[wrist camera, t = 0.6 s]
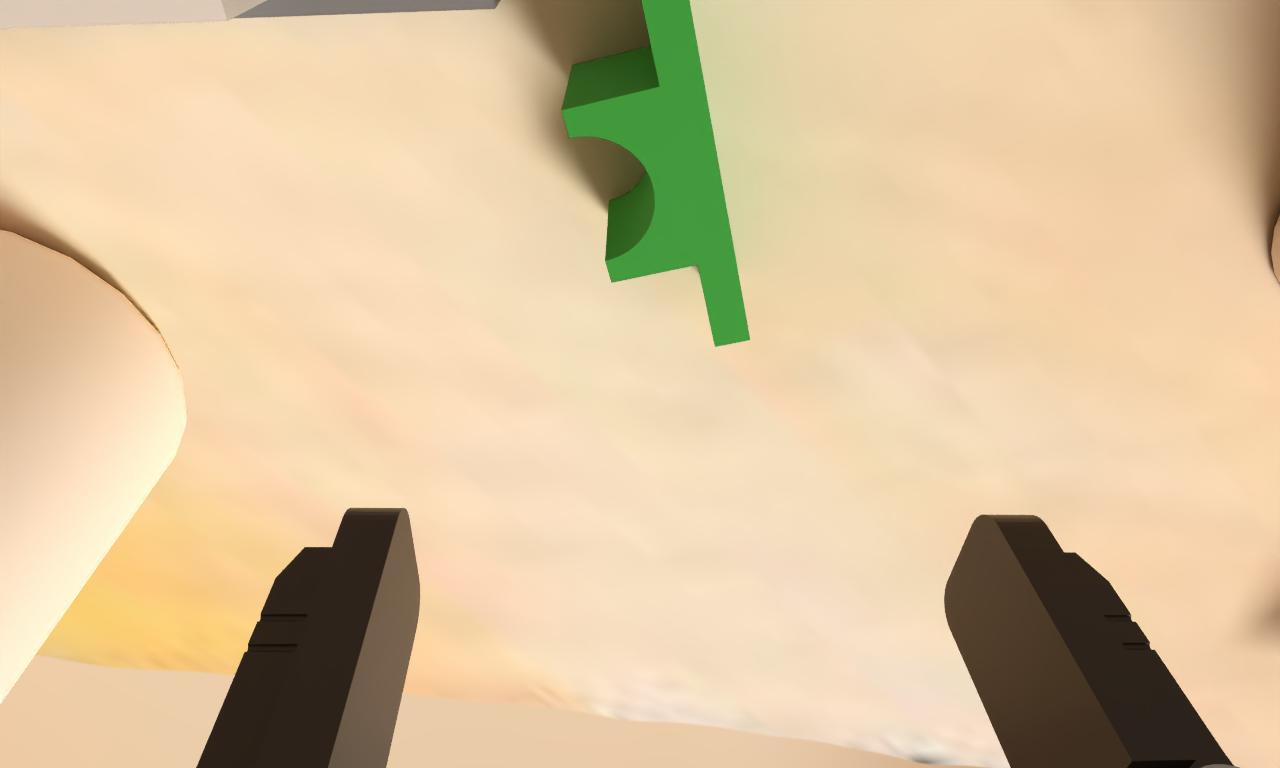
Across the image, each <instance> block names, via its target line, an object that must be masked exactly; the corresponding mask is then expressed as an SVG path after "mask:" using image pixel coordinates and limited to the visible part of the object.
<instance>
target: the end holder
mask: <svg viewBox="0 0 1280 768" xmlns="http://www.w3.org/2000/svg"><path fill="white" fill-rule="evenodd" d="M500 1H501V0H0V29H22V28H49V27H77V26H104V25H132V24H159V23H187V22H214V21H229V20H230V19H232V18H254V17H282V16H309V15H337V14H364V13H391V12H419V11H446V10H474V9H495V8H496V6H497V5H498V3H499V2H500Z"/></svg>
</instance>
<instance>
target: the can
mask: <svg viewBox="0 0 1280 768" xmlns="http://www.w3.org/2000/svg"><path fill="white" fill-rule="evenodd" d="M186 413H187V412H186V404H185V397H184V389H183V381H182V375H181V373H180V371H179V369H178V367H177V365H176V363H175V362H174V360H173V358H172V356H171V354H170V352H169V350H168V348H167V346H166V344H165V342H164V341H163V339H162V337H161V335H160V334H159V333H158V331H157V330H156V329H155V328H154V327H153V326H152V325H151V324H150V323H149V322H148V321H147V320H146V318H145V317H144V316H143V315H142V314H141V313H140V312H139V311H138V310H137V309H136V308H135V307H134V306H133V304H132V303H131V302H130V301H129V300H128V299H127V298H126V297H125V296H124V295H123V294H122V293H121V292H119V291H118V290H117V289H115V288H114V287H112V286H111V285H109V284H108V283H107V282H105V281H104V280H102V279H101V278H99V277H98V276H96V275H95V274H94V273H92V272H91V271H89V270H88V269H86V268H85V267H84V266H82V265H81V264H79V263H78V262H76V261H75V260H74V259H72V258H70V257H68V256H66V255H63V254H61V253H59V252H57V251H54V250H52V249H50V248H47V247H45V246H43V245H40V244H38V243H36V242H33V241H31V240H29V239H27V238H24V237H22V236H20V235H17V234H15V233H13V232H9V231H4V230H0V704H1V702H2V701H3V699H4V698H5V697H6V695H7V694H8V692H9V691H10V690H11V688H12V687H13V685H14V684H15V683H16V681H17V680H18V678H19V677H20V675H21V674H22V673H23V671H24V670H25V668H26V667H27V666H28V664H29V663H30V661H31V660H32V658H33V657H34V656H35V654H36V653H37V651H38V650H39V649H40V647H41V646H42V644H43V643H44V641H45V640H46V639H47V637H48V636H49V634H50V633H51V632H52V630H53V629H54V627H55V626H56V624H57V623H58V622H59V620H60V619H61V617H62V616H63V615H64V613H65V612H66V610H67V609H68V607H69V606H70V605H71V603H72V602H73V600H74V599H75V597H76V596H77V595H78V593H79V592H80V590H81V589H82V588H83V586H84V585H85V583H86V582H87V580H88V579H89V578H90V576H91V575H92V573H93V572H94V571H95V569H96V568H97V566H98V565H99V563H100V562H101V561H102V559H103V558H104V556H105V555H106V554H107V552H108V551H109V549H110V548H111V546H112V545H113V544H114V542H115V541H116V539H117V538H118V537H119V535H120V534H121V532H122V531H123V529H124V528H125V527H126V525H127V524H128V522H129V521H130V520H131V518H132V517H133V515H134V514H135V512H136V511H137V510H138V508H139V507H140V505H141V504H142V503H143V501H144V500H145V498H146V497H147V495H148V494H149V493H150V491H151V490H152V488H153V487H154V485H155V484H156V483H157V481H158V480H159V478H160V477H161V476H162V474H163V473H164V471H165V470H166V468H167V467H168V466H169V464H170V463H171V461H172V460H173V459H174V457H175V455H176V452H177V449H178V447H179V444H180V441H181V438H182V435H183V432H184V429H185V427H186Z"/></svg>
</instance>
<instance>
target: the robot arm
mask: <svg viewBox="0 0 1280 768" xmlns="http://www.w3.org/2000/svg"><path fill="white" fill-rule="evenodd" d="M1271 255H1272V261H1273V267H1274V274H1275V275H1276V277H1277V279H1278V281H1279V283H1280V215H1279V218H1278V220H1277V223H1276V226H1275V228H1274V235H1273V243H1272V250H1271ZM944 603H945V613H946V618H947V622H948V625H949V628H950V630H951V632H952V635H953V637H954V639H955V641H956V644H957V646H958V648H959V651H960V653H961V655H962V657H963V660H964V662H965V664H966V667H967V669H968V671H969V673H970V676H971V678H972V680H973V683H974V685H975V687H976V689H977V692H978V694H979V696H980V699H981V701H982V703H983V705H984V708H985V710H986V712H987V714H988V717H989V719H990V721H991V724H992V726H993V728H994V730H995V733H996V735H997V737H998V740H999V742H1000V744H1001V746H1002V749H1003V751H1004V753H1005V756H1006V758H1007V760H1008V762H1009V765H1010V767H1011V768H1239V767H1236V766H1234V765H1233V764H1232V763H1231V761H1230V760H1229V759H1228V757H1227V756H1226V755H1225V753H1224V752H1223V750H1222V749H1221V747H1220V746H1219V744H1218V743H1217V741H1216V740H1215V739H1214V737H1213V736H1212V734H1211V733H1210V731H1209V730H1208V728H1207V727H1206V725H1205V724H1204V722H1203V721H1202V719H1201V718H1200V716H1199V715H1198V713H1197V712H1196V710H1195V709H1194V707H1193V706H1192V704H1191V703H1190V701H1189V700H1188V698H1187V697H1186V695H1185V694H1184V692H1183V691H1182V690H1181V688H1180V687H1179V685H1178V684H1177V682H1176V681H1175V679H1174V678H1173V676H1172V675H1171V673H1170V672H1169V670H1168V669H1167V667H1166V666H1165V664H1164V663H1163V661H1162V660H1161V658H1160V657H1159V655H1158V654H1157V652H1156V651H1155V650H1151V649H1150V646H1149V644H1150V642H1149V641H1148V639H1147V638H1146V636H1145V635H1144V633H1143V632H1142V630H1141V629H1140V627H1139V626H1138V624H1137V623H1136V622H1132V620H1131V614H1130V612H1129V611H1128V609H1127V608H1126V606H1125V605H1124V603H1123V602H1122V600H1121V599H1120V597H1119V596H1118V594H1117V593H1116V592H1115V590H1114V589H1113V587H1112V586H1111V584H1110V583H1109V581H1108V580H1106V579H1105V578H1104V577H1103V576H1102V575H1101V574H1099V573H1098V572H1097V571H1096V570H1095V569H1094V568H1092V567H1091V566H1090V565H1089V564H1088V563H1087V562H1086V561H1084V560H1083V559H1082V558H1081V557H1080V556H1079V555H1077V554H1076V553H1064V552H1063V550H1062V549H1061V547H1060V545H1059V544H1058V542H1057V541H1056V539H1055V538H1054V536H1053V534H1052V533H1051V531H1050V530H1049V528H1048V527H1047V525H1046V524H1045V523H1044V521H1043V520H1041V519H1040V518H1039V517H1037V516H1034V515H980V516H979V517H977V518H976V519H975V521H974V522H973V524H972V526H971V528H970V531H969V533H968V535H967V538H966V540H965V542H964V545H963V547H962V549H961V551H960V554H959V556H958V558H957V561H956V563H955V565H954V567H953V570H952V572H951V574H950V577H949V579H948V581H947V584H946V588H945V596H944ZM419 606H420V583H419V575H418V569H417V563H416V557H415V550H414V544H413V538H412V532H411V526H410V519H409V515H408V512H407V510H406V509H405V508H349V509H348V510H347V511H346V512H345V514H344V516H343V519H342V521H341V524H340V527H339V530H338V532H337V535H336V538H335V541H334V544H333V546H332V547H305V548H304V549H303V550H302V551H301V552H300V553H299V554H298V555H297V556H296V557H295V558H294V559H293V560H292V561H291V563H290V564H289V565H288V566H287V567H286V568H285V569H284V570H283V571H282V572H281V573H280V574H279V575H278V576H277V577H276V579H275V581H274V583H273V586H272V588H271V591H270V593H269V595H268V598H267V600H266V603H265V605H264V607H263V610H262V612H261V619H260V622H257V624H256V626H255V629H254V631H253V634H252V636H251V638H250V641H249V643H248V651H247V652H245V653H244V655H243V657H242V660H241V662H240V665H239V667H238V669H237V672H236V674H235V677H234V679H233V682H232V684H231V686H230V689H229V691H228V693H227V696H226V698H225V700H224V703H223V706H222V708H221V710H220V713H219V715H218V717H217V720H216V722H215V724H214V727H213V730H212V732H211V734H210V736H209V739H208V741H207V743H206V746H205V748H204V751H203V753H202V755H201V758H200V760H199V763H198V765H197V767H196V768H386V765H387V761H388V756H389V751H390V747H391V742H392V738H393V733H394V728H395V724H396V720H397V715H398V711H399V706H400V701H401V697H402V692H403V688H404V683H405V679H406V674H407V669H408V665H409V660H410V656H411V651H412V647H413V642H414V637H415V633H416V628H417V623H418V616H419Z"/></svg>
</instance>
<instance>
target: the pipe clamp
mask: <svg viewBox="0 0 1280 768" xmlns="http://www.w3.org/2000/svg"><path fill="white" fill-rule="evenodd" d="M641 1H642V6H643V10H644V15H645V20H646V25H647V29H648V34H649V39H650V43H651V46H648V47H644V48H640V49H636V50H632V51H628V52H624V53H620V54H616V55H612V56H608V57H604V58H600V59H596V60H592V61H588V62H584V63H580V64H576V65H572V69H571V73H570V77H569V81H568V86H567V90H566V94H565V98H564V102H563V106H562V114H563V117H564V121H565V124H566V128H567V131H568V135H569V138H573V137H582V136H589V137H598V138H603V139H607V140H609V141H612V142H615V143H617V144H619V145H621V146H622V147H624V148H625V149H627V150H628V151H630V152H631V153H632V154H633V155H634V156H635V157H636V158H637V159H638V160H639V161H640V162H641V163H642V165H643V166H644V168H645V169H646V171H647V172H646V174H645V175H644V177H643V178H642V180H641V181H640V182H639V183H638V184H637V185H636V187H634V188H633V189H632V190H631V191H629V192H628V193H626V194H625V195H623V196H621V197H619V198H616V199H613V200H609V212H608V227H607V242H606V257H605V262H606V265H607V269H608V272H609V276H610V279H611V282H617V281H622V280H627V279H632V278H636V277H641V276H646V275H651V274H656V273H660V272H665V271H670V270H675V269H679V268H684V267H689V266H694V265H698V269H699V274H700V278H701V283H702V288H703V293H704V297H705V302H706V307H707V311H708V316H709V321H710V325H711V330H712V335H713V340H714V344H715V347H716V346H721V345H726V344H732V343H737V342H742V341H747V340H750V336H749V331H748V325H747V320H746V314H745V309H744V303H743V297H742V292H741V286H740V281H739V275H738V269H737V264H736V258H735V253H734V247H733V242H732V236H731V230H730V225H729V219H728V214H727V208H726V203H725V197H724V191H723V186H722V180H721V175H720V169H719V163H718V158H717V152H716V147H715V141H714V136H713V130H712V124H711V119H710V113H709V108H708V102H707V96H706V91H705V85H704V80H703V74H702V69H701V63H700V57H699V52H698V46H697V41H696V35H695V30H694V24H693V18H692V13H691V7H690V2H689V0H641Z"/></svg>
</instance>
